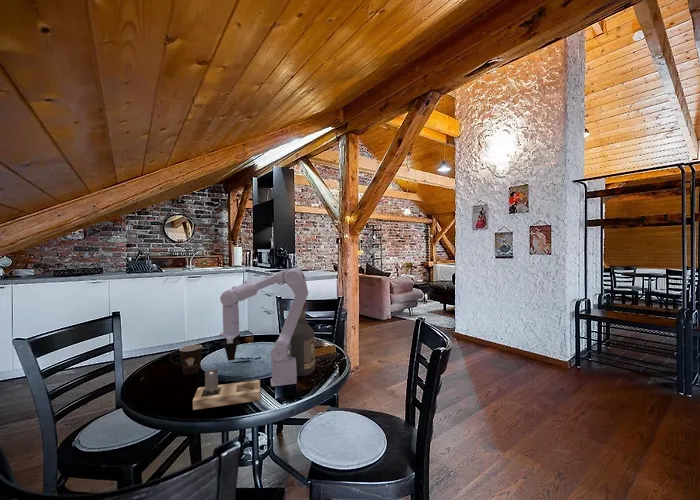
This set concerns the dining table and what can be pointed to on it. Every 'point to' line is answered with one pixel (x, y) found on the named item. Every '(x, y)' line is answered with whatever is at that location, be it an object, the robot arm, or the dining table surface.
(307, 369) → the liquor
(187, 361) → the coffee mug
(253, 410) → the dining table surface
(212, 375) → the drill rod
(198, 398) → the block
